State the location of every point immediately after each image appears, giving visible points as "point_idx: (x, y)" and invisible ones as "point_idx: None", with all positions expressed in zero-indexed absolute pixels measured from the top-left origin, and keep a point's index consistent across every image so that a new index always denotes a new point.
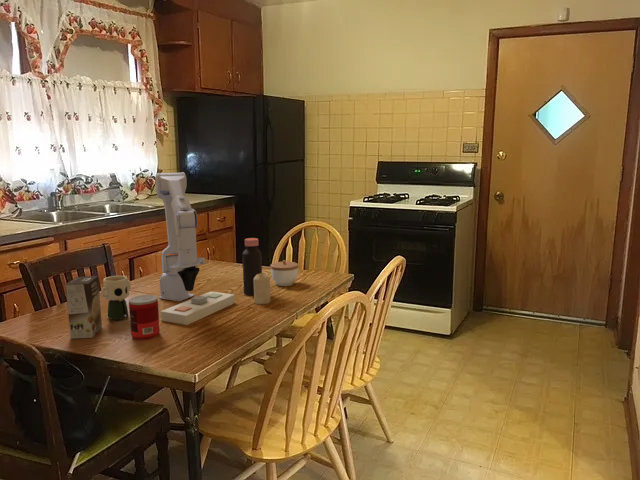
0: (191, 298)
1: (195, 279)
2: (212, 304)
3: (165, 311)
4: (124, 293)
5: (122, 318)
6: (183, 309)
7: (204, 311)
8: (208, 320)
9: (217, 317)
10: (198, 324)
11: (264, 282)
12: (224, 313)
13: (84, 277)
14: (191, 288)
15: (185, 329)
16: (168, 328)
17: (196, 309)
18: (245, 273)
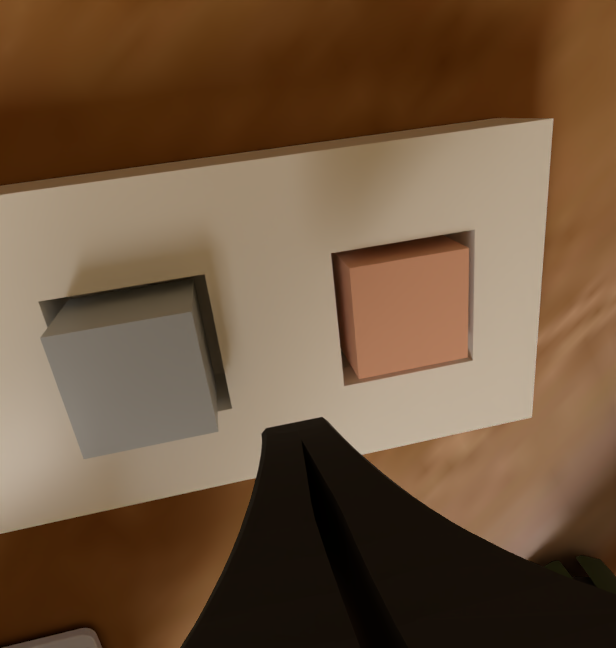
0: (216, 427)
1: (239, 539)
2: (79, 184)
3: (522, 384)
4: None
5: (583, 557)
6: (445, 275)
7: (243, 157)
8: (296, 29)
9: (167, 11)
10: (435, 31)
11: None
12: (11, 44)
13: None
14: (320, 432)
15: (587, 36)
16: (609, 191)
17: (342, 191)
18: None
